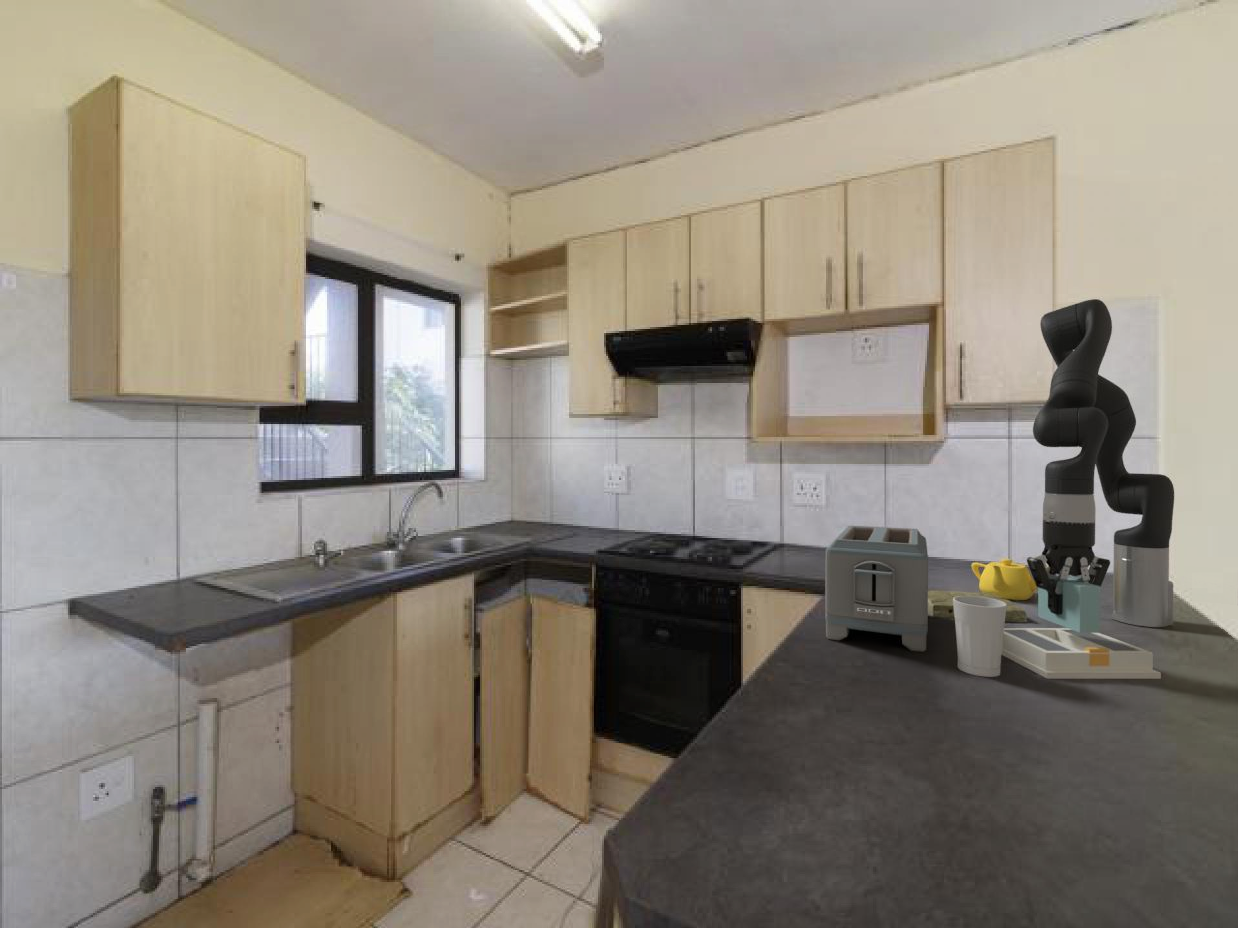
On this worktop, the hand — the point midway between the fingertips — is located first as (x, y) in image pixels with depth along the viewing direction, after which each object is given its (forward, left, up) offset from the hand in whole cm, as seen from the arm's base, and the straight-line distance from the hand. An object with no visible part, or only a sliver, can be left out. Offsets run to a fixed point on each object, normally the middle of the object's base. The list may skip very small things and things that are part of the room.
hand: (1067, 613), depth 105 cm
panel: (0, 0, -2) cm, 2 cm away
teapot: (-22, -48, -9) cm, 53 cm away
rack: (0, 0, -9) cm, 9 cm away
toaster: (+25, -20, -9) cm, 34 cm away
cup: (+18, +4, -9) cm, 21 cm away
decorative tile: (-2, -35, -10) cm, 36 cm away
